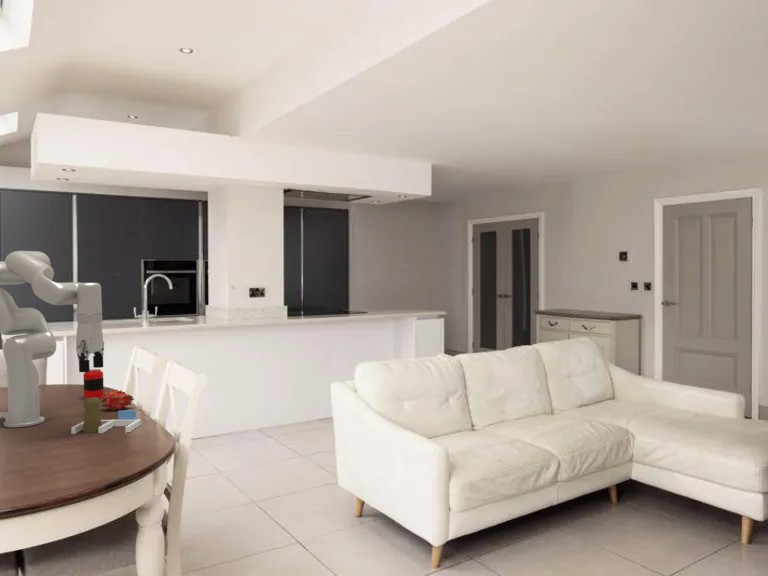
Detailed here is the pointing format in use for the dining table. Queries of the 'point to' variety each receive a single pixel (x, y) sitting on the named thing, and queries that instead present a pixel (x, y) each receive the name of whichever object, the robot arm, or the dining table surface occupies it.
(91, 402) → the olive rounded piece
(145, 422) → the dining table surface
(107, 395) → the dragon fruit
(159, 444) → the dining table surface
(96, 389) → the soda can
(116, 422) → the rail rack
